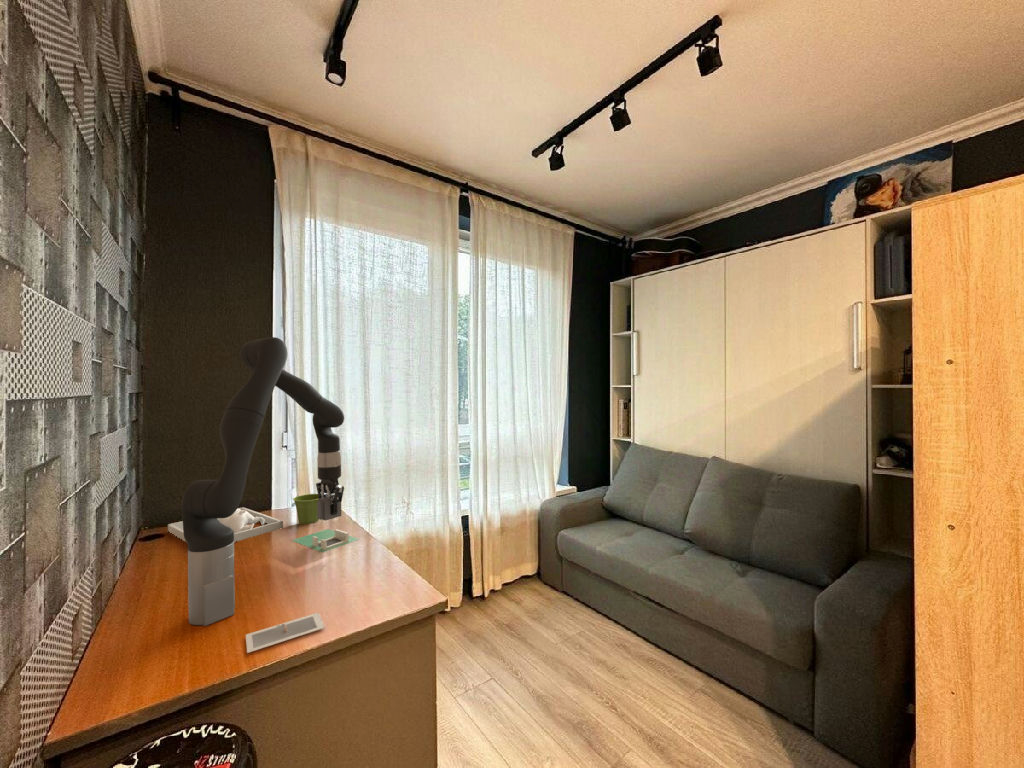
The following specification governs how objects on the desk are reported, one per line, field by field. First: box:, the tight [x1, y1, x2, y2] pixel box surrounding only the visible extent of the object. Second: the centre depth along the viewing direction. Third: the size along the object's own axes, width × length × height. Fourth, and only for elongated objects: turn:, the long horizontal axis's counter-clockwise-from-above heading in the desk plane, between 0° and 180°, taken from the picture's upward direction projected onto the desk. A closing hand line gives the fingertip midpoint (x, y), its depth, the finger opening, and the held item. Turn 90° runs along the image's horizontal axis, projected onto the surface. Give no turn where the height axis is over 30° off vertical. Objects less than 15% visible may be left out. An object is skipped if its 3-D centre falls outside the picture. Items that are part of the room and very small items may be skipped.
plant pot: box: [292, 493, 322, 525], centre depth 168 cm, size 12×12×11 cm
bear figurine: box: [217, 507, 265, 533], centre depth 160 cm, size 17×14×20 cm
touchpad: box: [245, 612, 326, 654], centre depth 93 cm, size 8×15×2 cm, turn 125°
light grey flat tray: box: [167, 506, 284, 543], centre depth 163 cm, size 36×27×3 cm
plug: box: [317, 496, 342, 521], centre depth 143 cm, size 4×7×7 cm, turn 145°
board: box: [291, 528, 360, 554], centre depth 147 cm, size 20×14×4 cm
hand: (330, 513), depth 143 cm, fingers closed on plug, 4 cm apart
